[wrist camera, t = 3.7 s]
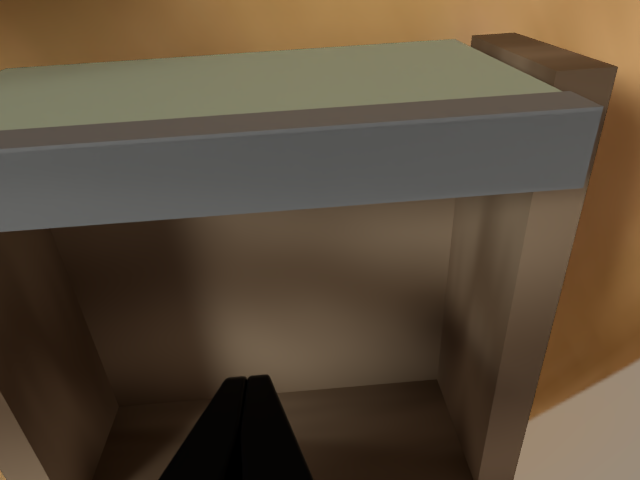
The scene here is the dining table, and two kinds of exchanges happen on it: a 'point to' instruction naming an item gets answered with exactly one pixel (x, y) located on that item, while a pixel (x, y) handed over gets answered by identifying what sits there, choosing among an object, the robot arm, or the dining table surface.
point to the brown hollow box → (295, 324)
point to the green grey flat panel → (280, 133)
